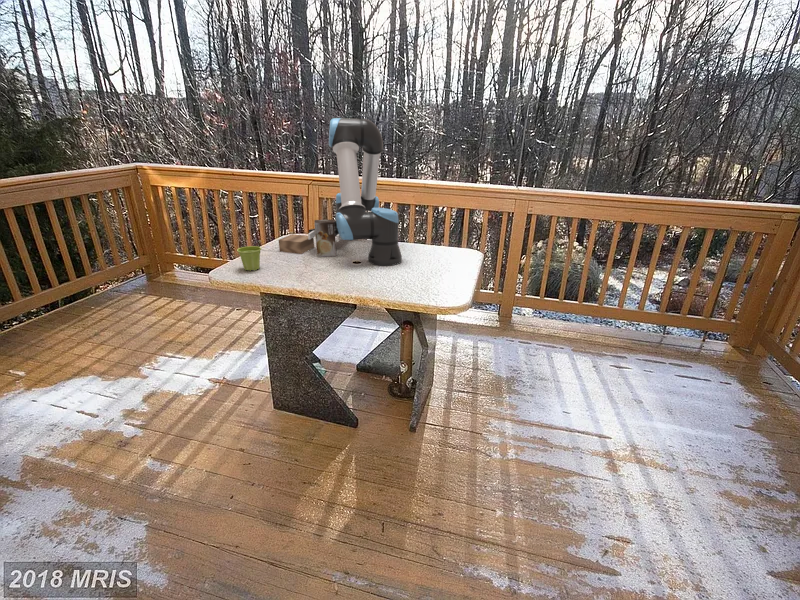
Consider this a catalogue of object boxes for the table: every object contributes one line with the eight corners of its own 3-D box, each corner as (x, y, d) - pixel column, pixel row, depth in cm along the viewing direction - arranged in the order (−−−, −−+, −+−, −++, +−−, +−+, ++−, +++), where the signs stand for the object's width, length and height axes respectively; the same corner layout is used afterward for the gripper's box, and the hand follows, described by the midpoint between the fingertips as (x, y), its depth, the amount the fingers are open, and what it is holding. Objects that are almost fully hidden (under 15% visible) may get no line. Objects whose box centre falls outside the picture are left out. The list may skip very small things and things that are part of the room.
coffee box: (336, 252, 190) (334, 219, 183) (336, 256, 184) (334, 222, 177) (317, 253, 188) (314, 219, 182) (316, 256, 182) (314, 222, 176)
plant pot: (236, 268, 165) (233, 248, 162) (257, 264, 171) (255, 244, 168) (245, 274, 159) (242, 253, 156) (267, 269, 165) (265, 249, 162)
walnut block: (314, 248, 197) (313, 236, 194) (301, 254, 186) (300, 242, 184) (293, 245, 200) (292, 234, 198) (279, 252, 190) (278, 239, 187)
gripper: (362, 236, 198) (349, 247, 179) (315, 233, 202) (298, 243, 183) (361, 221, 195) (349, 231, 176) (314, 218, 199) (296, 227, 180)
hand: (323, 237), depth 179 cm, fingers open, 13 cm apart
